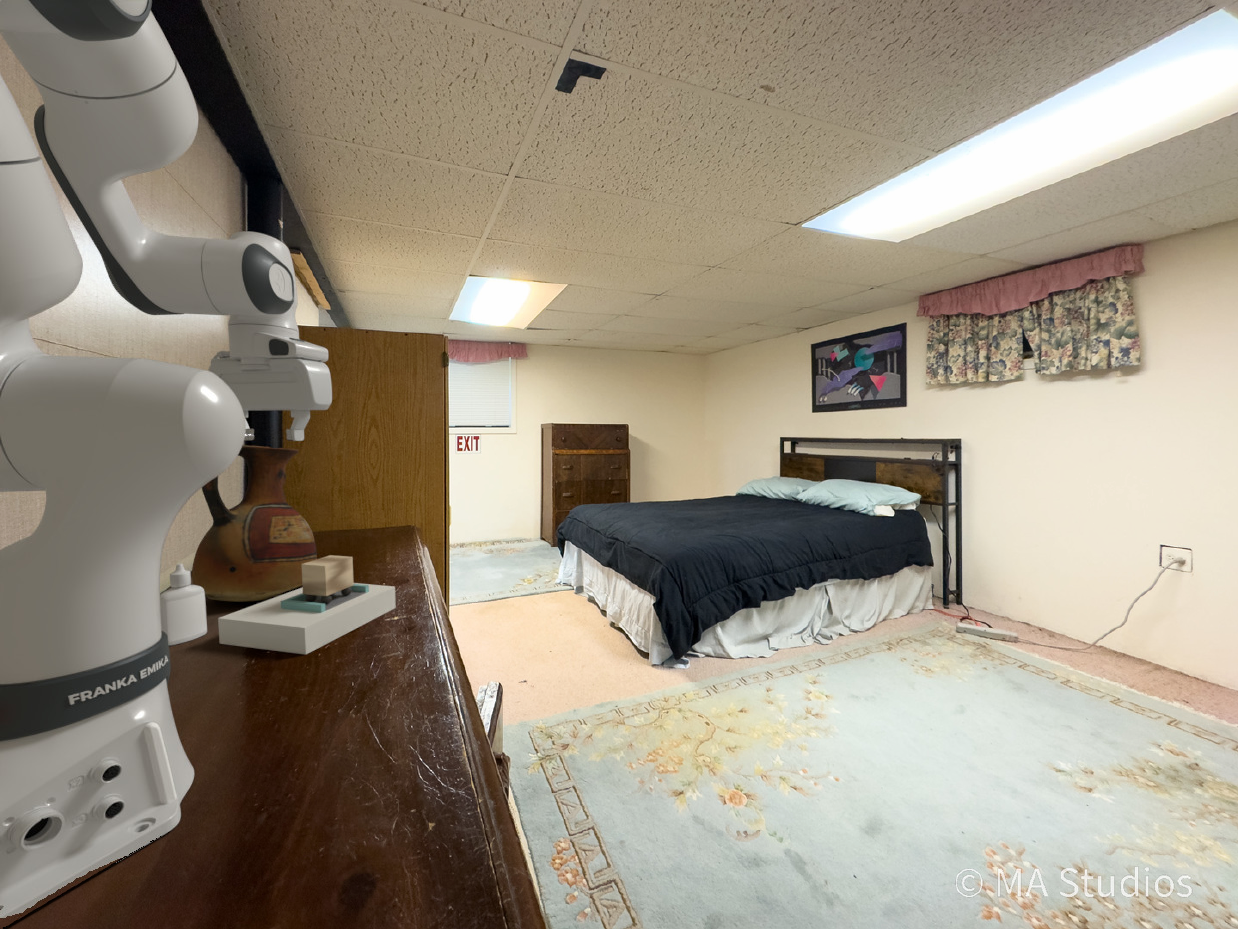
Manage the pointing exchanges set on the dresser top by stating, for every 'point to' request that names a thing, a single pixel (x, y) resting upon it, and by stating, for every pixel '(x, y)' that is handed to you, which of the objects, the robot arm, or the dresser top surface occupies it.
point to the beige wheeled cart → (327, 577)
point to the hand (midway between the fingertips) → (270, 440)
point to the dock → (304, 619)
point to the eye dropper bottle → (183, 608)
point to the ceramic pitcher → (254, 535)
